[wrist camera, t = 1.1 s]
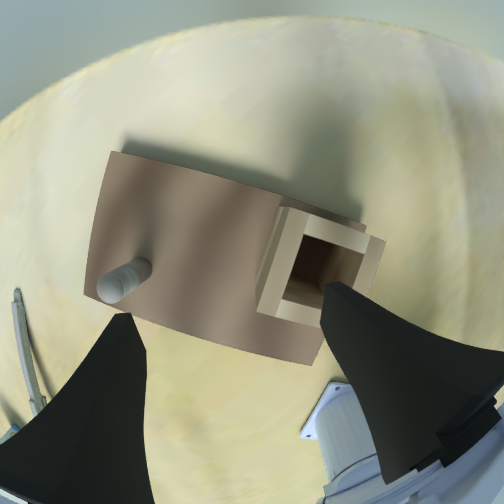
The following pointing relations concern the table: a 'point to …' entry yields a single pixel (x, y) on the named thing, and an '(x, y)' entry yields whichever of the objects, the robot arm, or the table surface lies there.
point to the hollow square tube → (334, 269)
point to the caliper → (26, 355)
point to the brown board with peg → (197, 255)
